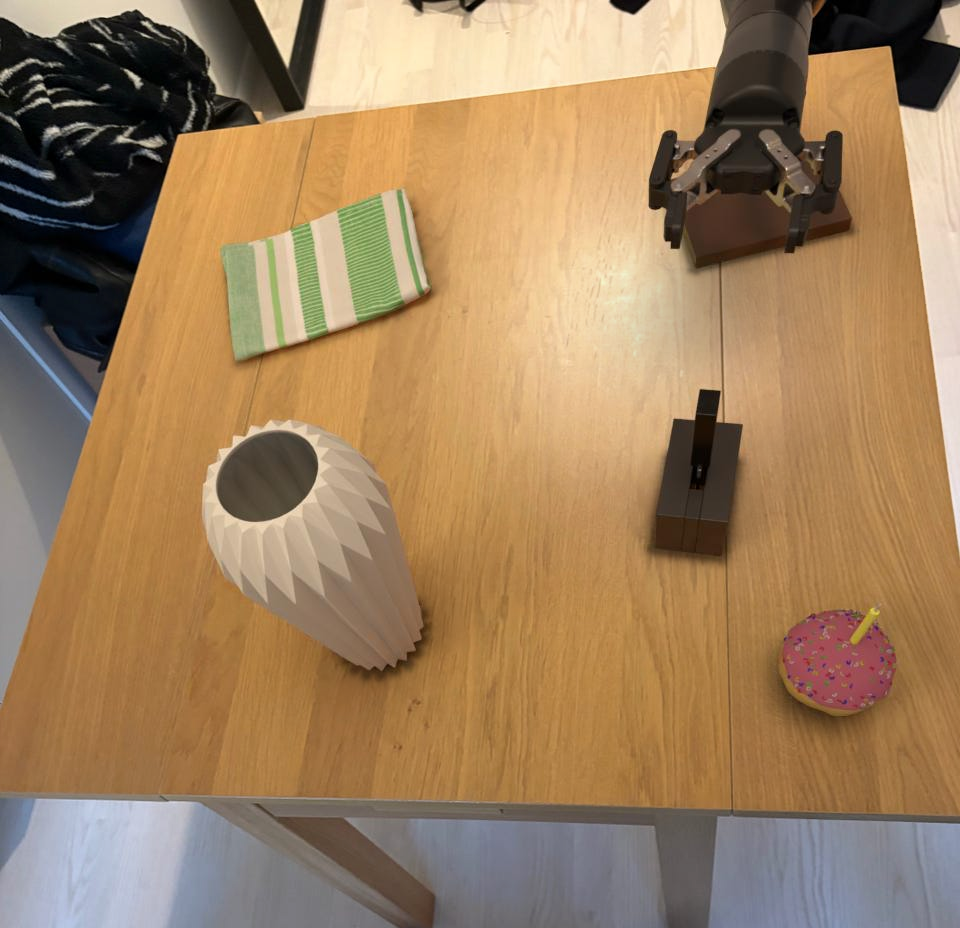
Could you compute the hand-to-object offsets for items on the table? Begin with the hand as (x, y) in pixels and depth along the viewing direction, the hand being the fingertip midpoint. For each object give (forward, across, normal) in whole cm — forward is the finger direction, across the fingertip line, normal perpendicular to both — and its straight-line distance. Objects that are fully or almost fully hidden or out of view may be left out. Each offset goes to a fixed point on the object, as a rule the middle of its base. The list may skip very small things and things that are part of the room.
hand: (732, 242), depth 62 cm
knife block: (+11, 0, +20) cm, 23 cm away
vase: (+28, -26, +20) cm, 44 cm away
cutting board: (-26, +1, +20) cm, 32 cm away
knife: (+11, 0, +20) cm, 23 cm away
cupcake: (+27, +13, +20) cm, 36 cm away
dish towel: (-13, -45, +20) cm, 51 cm away
